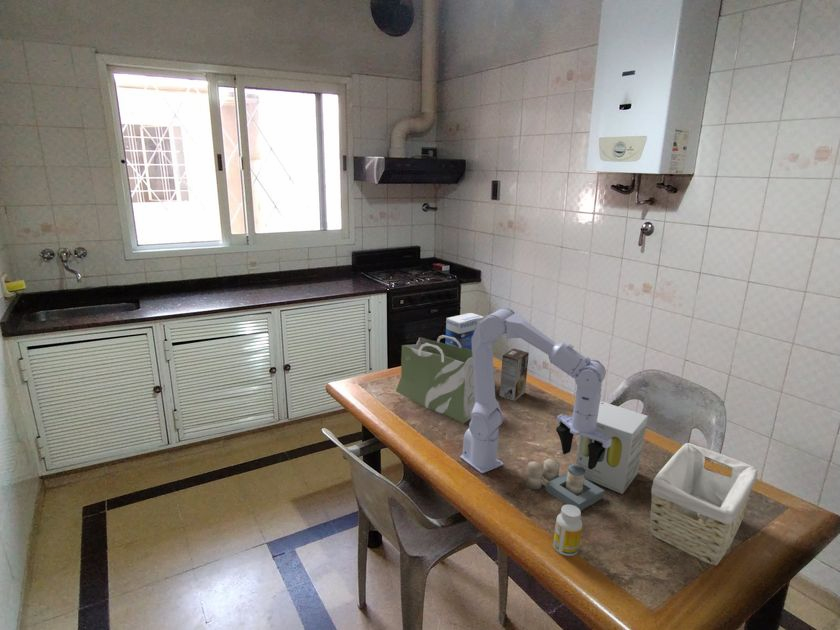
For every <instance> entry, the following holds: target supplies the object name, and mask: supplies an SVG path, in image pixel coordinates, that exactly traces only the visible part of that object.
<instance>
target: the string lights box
mask: <svg viewBox="0 0 840 630" xmlns="http://www.w3.org/2000/svg"><path fill="white" fill-rule="evenodd" d="M483 318H485V316H484V315H483V316H482V315H480V314H476V313H473V312H467V313H463V314H459V315H454V316H450V317H446V321H445V323H446V325H445V336H448V337H453V338H455V339H456V340H458V341H459V343H460V344H461V347H462V348H466V349H469V350H472V337H473V335H474V333H475V331H476V329H477V327H478V322H479V321H481V320H482V319H483ZM444 344H448V345H452V346H457V347H459V346H458V344H457V343H456V342H455V341H454V340H451V339H449V338H445V343H444Z"/></svg>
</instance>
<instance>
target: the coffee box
mask: <svg viewBox="0 0 840 630" xmlns="http://www.w3.org/2000/svg"><path fill="white" fill-rule="evenodd" d="M528 364H529V351H528V352H527V351H523V350H521V349H517V348H512V349H510V350H508V351H507V352H506V353H504V354H502V362H501V374H500V387H499V394H498V395H499V397H500V396H501V397H500V398H503V397H504V398H503V399H506V398H507V399H506V400H509V399H510V400H509V401H512V400H513V401H512V402H516V401H517V400H519V398H521V395H522V394H523V395H525V393H526V389H527V388H526V386H527V375H528V366H529V365H528ZM523 395H522V396H523ZM515 400H516V401H515Z"/></svg>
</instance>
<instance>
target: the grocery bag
mask: <svg viewBox="0 0 840 630" xmlns="http://www.w3.org/2000/svg"><path fill="white" fill-rule="evenodd" d="M446 338H449V339H451V340H454V341H455V342H456V343H457V344H458V346H459V347H457V346H452V345H448V344H445V343H443V342H440V341H441V339H446ZM400 366H401V368H400V370H401V372H400V374H401V376H400V378H399V382H398V384H397V387H396V390H395V393H398V394H400V395H402V396H404V397H406V398H408V399H410V400H412V401H414V402H416V403H417V404H419V405H420V406H422V407H424V408H426V409H429V410H430V411H434V412H435V413H436V412H437V413H440V414H442V415H445V416H447V417H449V418H451V419H453V420H455V421H457V422H459V423H460V424H465V423H467V422H468V421H471V418H472V415H471V413H472V410H473V408H474V405H475V402H476V401H475V386H474V371H473V356H472V350H469V349H466V348H462V347H461V344H460V343H459V341H458V340H456V339H455V338H453V337H448V336H446V334H445V335H444V334H442V335H439V336H438V337H437V339H436V340H432V339H428V338H425V337H418V340H417V341H416V344H414V343H413V344H403V345H401V357H400Z"/></svg>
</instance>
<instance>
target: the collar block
mask: <svg viewBox="0 0 840 630" xmlns="http://www.w3.org/2000/svg"><path fill="white" fill-rule="evenodd" d="M567 475H568V472H565V473H563V474H562V475H560V476H558V478H556V479H554V480H552V481H550V480H549V481H548V482H546V483H545V491H546V492H547V493H549V494H550V495H552V496H553V497H555V498H556V499H558V500H559V501H561V502H562V503H563V504H564V505H567V504H568V505H574V506H576V507H578V508H579V509H580V511H582V510H584V509H587V508H588V507H589V506H592V505H593V504H595V503H597V502H598V501H600V500H602V499H603V498H604V496H605V495H604V494H605V489H603V488H601V487H599V486H598V485H596V484H594V482H592V481H590V480H588V479H585V478H584V483H583V489H582V494H580V495H579V496H576V495H574V494H573V493H571V492H570V491H568V490H567V489H566V482H567Z"/></svg>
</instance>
